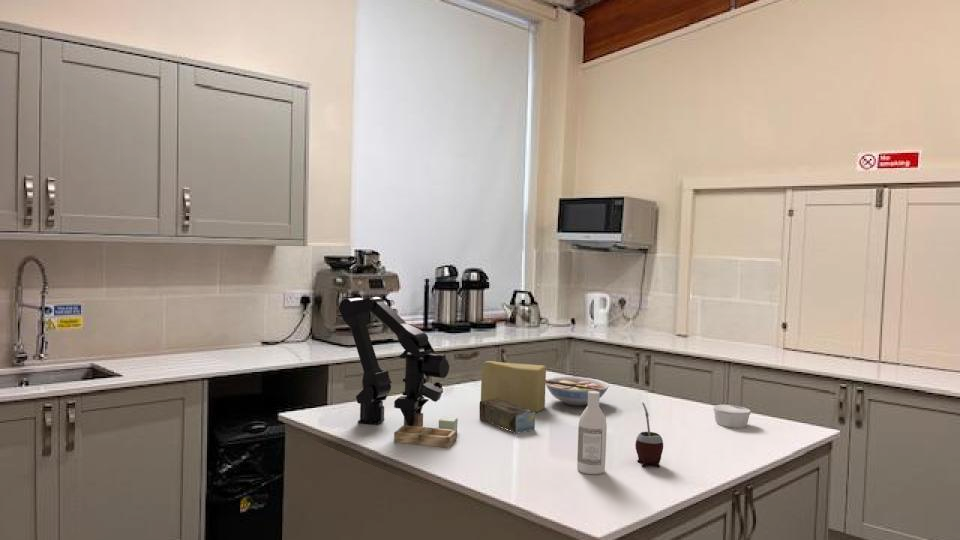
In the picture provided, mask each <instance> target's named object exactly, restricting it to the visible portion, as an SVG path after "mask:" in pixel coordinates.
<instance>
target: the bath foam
mask: <svg viewBox="0 0 960 540" xmlns="http://www.w3.org/2000/svg"><path fill="white" fill-rule="evenodd" d="M600 399H601V398H600V393H599V392H597V391H589V392H588V404H586V405H587V406H586V408H584V410H583V412H582V413H581V415H580V416H579V420H578V429H577V430H578V432H577V457H576V459H577V462H576V468H577V471H579V472H580V473H583V474H585V475H594V476H595V475H601V474H603V473H604V472H605V471H606V455H607V454H606V451H607V450H606V449H607V419H606V417H605V416H606V415H605V414H604V412H603V411H602V409H601V407H600Z"/></svg>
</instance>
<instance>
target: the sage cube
mask: <svg viewBox="0 0 960 540" xmlns="http://www.w3.org/2000/svg"><path fill="white" fill-rule="evenodd" d="M458 421H459V419H458V417H454V416H453V417H452V416H442V417H440V419H438V428H439V429H450V430H457V431H458Z"/></svg>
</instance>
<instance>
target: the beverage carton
mask: <svg viewBox="0 0 960 540" xmlns="http://www.w3.org/2000/svg"><path fill="white" fill-rule="evenodd" d="M481 419H483V420H482V421H484V420H485V421H484V422H486V421H488V422H487V423H489V422H490V423H489V424H491V423H493V424H492V425H494V424H495V425H494V426H496V425H498V426H500V427H499V428H501V427H503V428H506V429H508V430H511V431H513V432H512V433H514V432H515V433H514V434H519V433H518V432H521V433H525V432H524V431H526V432H531V431H530V430H532V431H534V430H535V427H536V426H535V425H536V412H534V411H531V410H528V409H526V408H523V407H521V406H518V405H515V404H513V403H510V402H507V401H505V400H502V399H499V398H496V399H492V400H491V399H490V400H485V401H481V400H480V401H479V420H481ZM498 426H497V427H498ZM503 428H502V429H503ZM506 429H505V430H506ZM508 430H507V431H508ZM511 431H510V432H511Z"/></svg>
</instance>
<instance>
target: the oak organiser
mask: <svg viewBox="0 0 960 540" xmlns="http://www.w3.org/2000/svg"><path fill="white" fill-rule="evenodd" d="M393 433H394V434H393V435H394V436H393V442H394V443H398V442H400V444H408V443H412V444H411V445H418V444H420V445H421V446H430V447H441V448H448V447H449V448H450V447H452V446H453V444H455V442H456V441H457V440H458V438H457V437H458V436H457V435H458V429H457V430H450V429H439V427H438V428H437V427H426V426H423V427H418V426H407V425H404V424H403V425H402V426H401V427H400V428H398V429H397V430H395V431H394V432H393ZM456 439H457V440H456Z"/></svg>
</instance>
